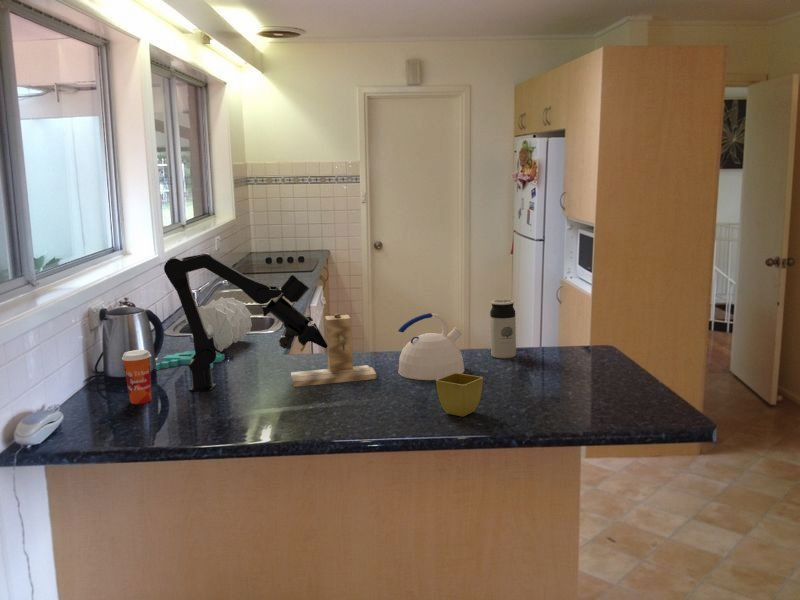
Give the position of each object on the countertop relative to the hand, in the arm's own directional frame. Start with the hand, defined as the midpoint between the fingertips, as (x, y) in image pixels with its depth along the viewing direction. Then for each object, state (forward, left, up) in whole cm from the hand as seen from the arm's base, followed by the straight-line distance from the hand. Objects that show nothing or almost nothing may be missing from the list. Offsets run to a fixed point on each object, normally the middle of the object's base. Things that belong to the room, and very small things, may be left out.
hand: (326, 347), depth 223 cm
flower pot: (-37, -39, -9) cm, 54 cm away
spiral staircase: (+43, +46, -9) cm, 64 cm away
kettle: (+3, -31, -9) cm, 33 cm away
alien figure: (+22, +50, -10) cm, 55 cm away
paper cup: (-21, +50, -9) cm, 55 cm away
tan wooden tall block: (-4, -5, -8) cm, 10 cm away
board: (-3, -2, -9) cm, 10 cm away
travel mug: (+19, -54, -9) cm, 58 cm away
